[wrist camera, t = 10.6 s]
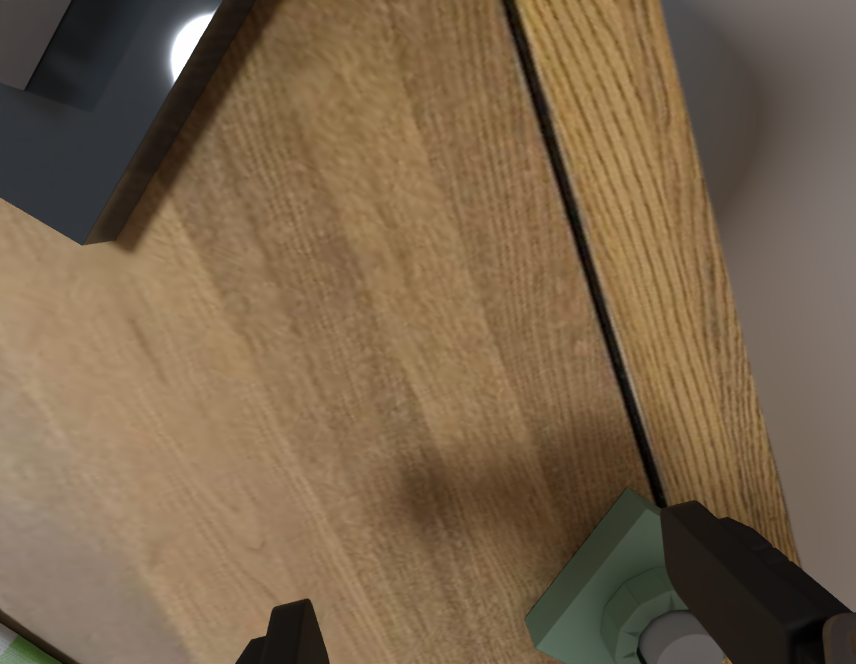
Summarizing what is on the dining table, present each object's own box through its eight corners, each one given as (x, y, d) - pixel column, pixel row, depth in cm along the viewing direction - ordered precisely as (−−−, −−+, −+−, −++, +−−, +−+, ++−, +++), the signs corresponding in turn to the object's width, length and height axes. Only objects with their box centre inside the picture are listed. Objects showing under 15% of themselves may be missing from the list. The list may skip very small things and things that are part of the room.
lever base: (45, -221, 20) (-12, -298, 17) (279, -39, 22) (266, -78, 19) (-117, 102, 22) (-194, 86, 19) (115, 241, 24) (80, 246, 21)
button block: (627, 487, 30) (665, 528, 26) (747, 563, 33) (799, 611, 29) (523, 619, 32) (546, 676, 28) (646, 683, 34) (683, 745, 30)
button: (667, 598, 28) (686, 623, 26) (715, 625, 29) (737, 652, 27) (625, 649, 28) (642, 677, 27) (673, 674, 29) (692, 703, 28)
